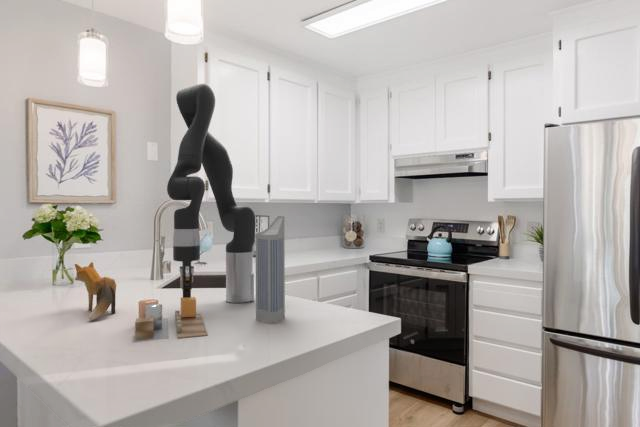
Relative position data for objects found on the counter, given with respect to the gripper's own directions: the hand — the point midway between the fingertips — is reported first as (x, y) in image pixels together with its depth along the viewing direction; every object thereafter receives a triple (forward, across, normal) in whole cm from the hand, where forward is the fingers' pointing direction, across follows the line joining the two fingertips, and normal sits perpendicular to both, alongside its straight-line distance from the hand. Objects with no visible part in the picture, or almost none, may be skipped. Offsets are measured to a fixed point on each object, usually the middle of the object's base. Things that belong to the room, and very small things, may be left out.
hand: (186, 302), depth 128 cm
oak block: (+3, -20, +11) cm, 23 cm away
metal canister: (+3, -13, +9) cm, 16 cm away
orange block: (+3, -4, 0) cm, 5 cm away
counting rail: (+5, -13, 0) cm, 14 cm away
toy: (+5, +15, +26) cm, 31 cm away
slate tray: (+5, -13, +9) cm, 17 cm away
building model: (+5, -10, -23) cm, 25 cm away
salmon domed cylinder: (+3, -7, +10) cm, 13 cm away
